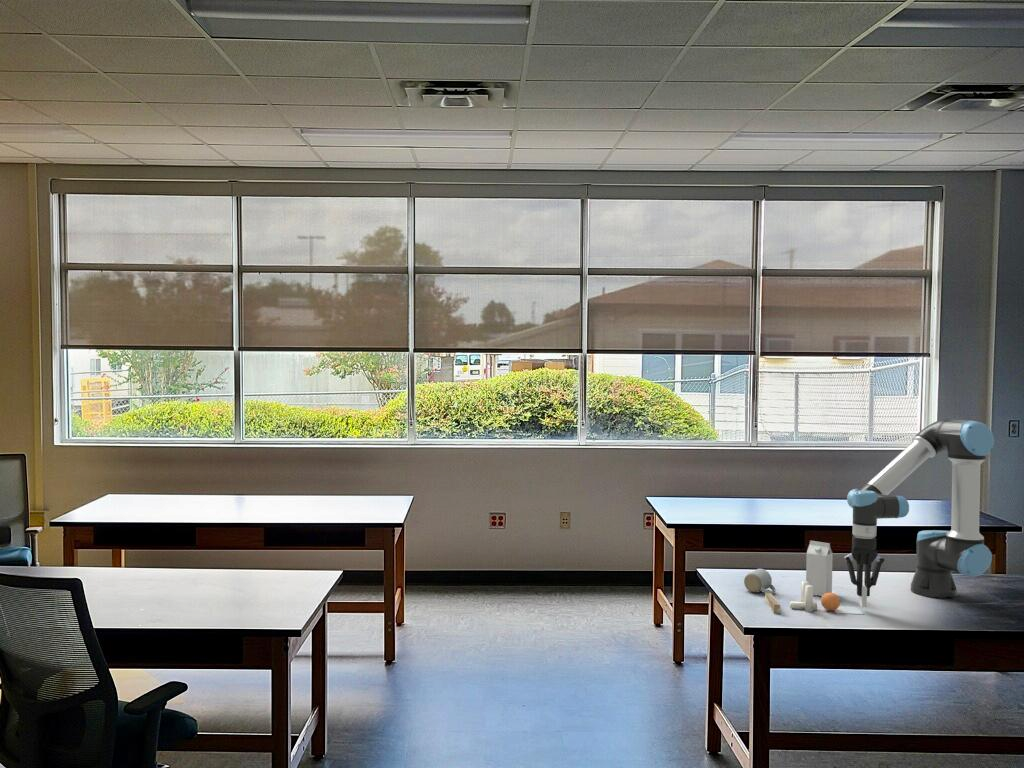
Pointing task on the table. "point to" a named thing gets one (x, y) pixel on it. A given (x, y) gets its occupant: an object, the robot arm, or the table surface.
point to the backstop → (772, 603)
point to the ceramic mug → (759, 581)
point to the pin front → (801, 605)
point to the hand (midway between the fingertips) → (863, 605)
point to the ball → (830, 601)
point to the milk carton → (819, 567)
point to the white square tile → (847, 610)
